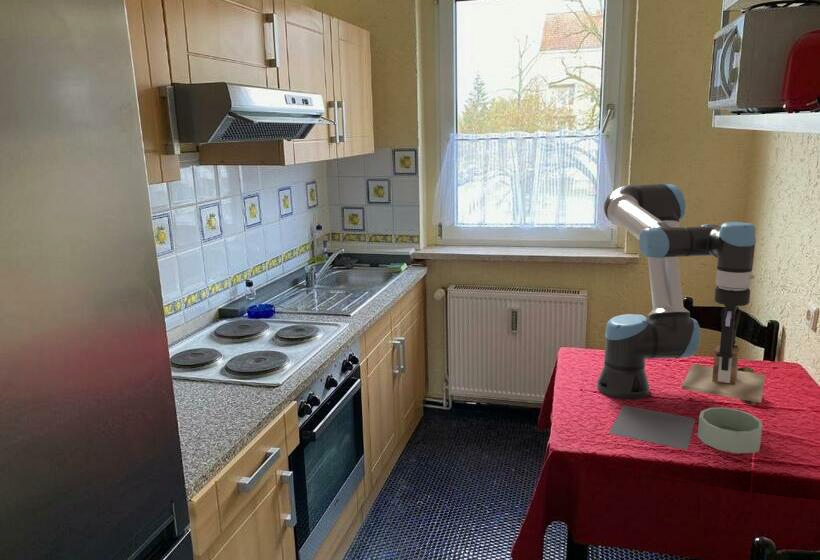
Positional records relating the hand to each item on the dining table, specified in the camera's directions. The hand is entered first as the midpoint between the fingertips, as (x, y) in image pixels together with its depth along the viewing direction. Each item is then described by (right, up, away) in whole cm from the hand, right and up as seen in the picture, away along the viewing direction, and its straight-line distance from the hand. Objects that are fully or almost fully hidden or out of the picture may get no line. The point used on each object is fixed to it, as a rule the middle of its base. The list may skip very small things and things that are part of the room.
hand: (724, 377), depth 153 cm
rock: (+22, -10, +29) cm, 38 cm away
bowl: (+3, -17, +4) cm, 17 cm away
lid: (0, -2, 0) cm, 2 cm away
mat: (-13, -15, +12) cm, 23 cm away
